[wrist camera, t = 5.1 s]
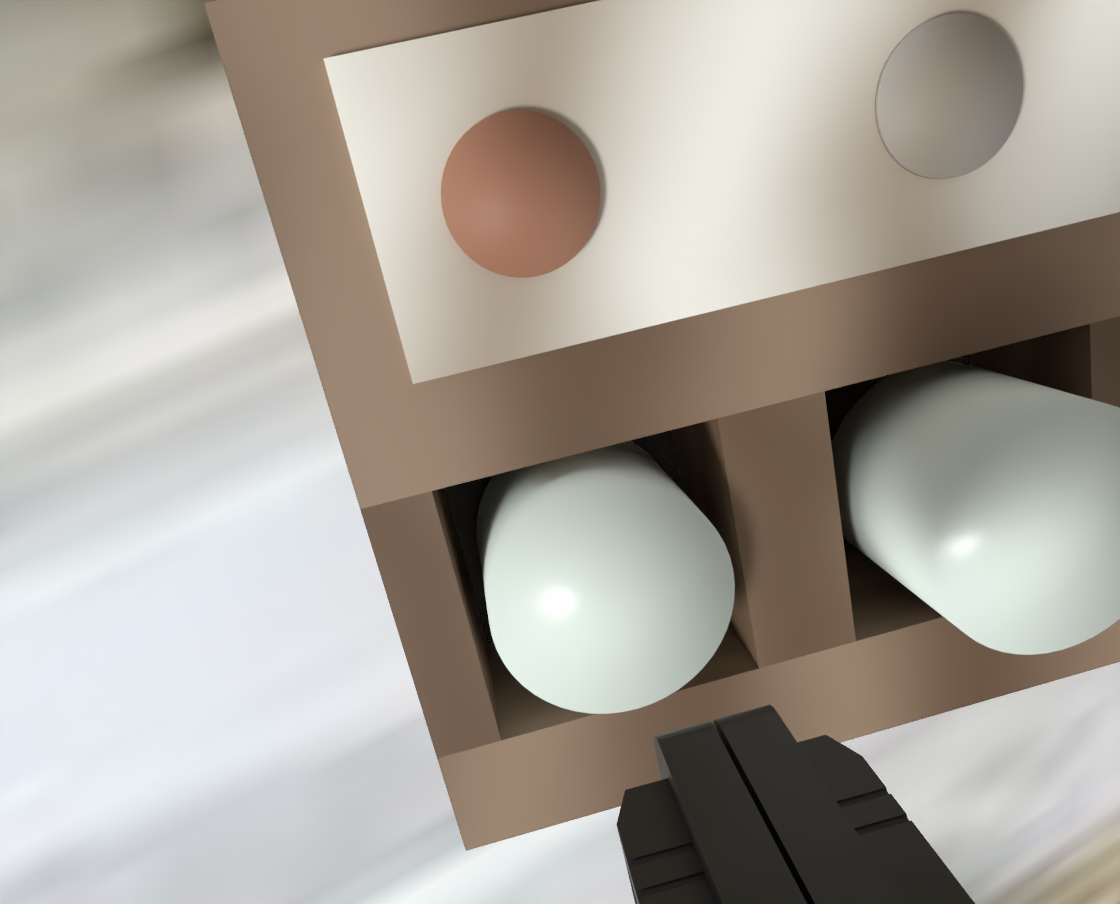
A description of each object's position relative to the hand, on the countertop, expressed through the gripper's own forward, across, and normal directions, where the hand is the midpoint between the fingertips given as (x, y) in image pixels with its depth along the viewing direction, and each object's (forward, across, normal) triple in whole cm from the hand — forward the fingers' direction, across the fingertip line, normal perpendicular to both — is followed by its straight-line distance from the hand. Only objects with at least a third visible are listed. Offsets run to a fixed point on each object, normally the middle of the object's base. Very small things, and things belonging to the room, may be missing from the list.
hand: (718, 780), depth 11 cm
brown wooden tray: (+10, -7, -3) cm, 13 cm away
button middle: (+8, -7, 0) cm, 10 cm away
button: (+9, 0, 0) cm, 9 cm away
